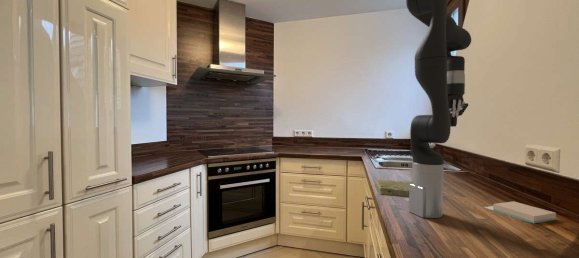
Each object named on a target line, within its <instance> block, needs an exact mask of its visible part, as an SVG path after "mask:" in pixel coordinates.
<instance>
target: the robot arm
mask: <svg viewBox="0 0 579 258" xmlns="http://www.w3.org/2000/svg"><path fill="white" fill-rule="evenodd" d="M405 3H406V8H407V10H408V11H409V13H410V14H411V16H413V17H414V18H415V19H417V20H418V21H420V22H421V23H423V24H424V25H426V26H427V27H428V29H427V30H426V33H425V35H424V37H423V38H422V40H421V42H420V43H419V46H418V47H417V49H416V50H415V51H416V52H415V54H414V75H415V76H414V77H415V78H416V80H417V82H418V84H419V85H420V87H421V88H422V90H423V91H424V93H426V95H427V97H428V99H429V101H430V105H431V112H432V114H419V115H418V114H417V115H416V116H414V117H413V118H412V120H411V123H410V129H409V131H410V134H409V135H410V154H411V156H412V167H411V168H412V171H411V174H412V175H411V176H412V178H411V182H412V184H410V190H409V197H408V198H409V200H408V204H409V205H408V208H409V209H408V211H409V213H411V214H414V215H416V216H417V217H420V218H429V219H438V218H439V219H440V218H441V217H443V200H444V199H443V198H444V197H443V195H444V162H445V160H444V159H445V158H444V156H443V155H442V153H440V152H437V151H435V150H434V149H433V148H432V147H431V146H430V144H429V143H431V144H445V143H447V142H448V141H449V138H450V136H451V127H454V128H455V127H457V125H458V117H460V116H462V115H464V113H465V111H466V110H467V108H468V106H469V103H466V102H465V101H464V95H465V93H466V91H465V90H466V89H465V88H466V73H465V71H466V70H465V69H466V67H465V63H466V61H465V60H466V59H465V57H464V56H461V55H452V52H457V51H463V50H466V49H468V48H469V46H470V45H471V44H472V36H471V34H470V32H469V31H468V30H467V29H465V28H463V27H461V26H460V25H458V24H457V22H456V21H455V19H454V18H453V17H452V16H451V15H450V14H448V0H405Z"/></svg>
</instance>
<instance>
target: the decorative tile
mask: <svg viewBox="0 0 579 258" xmlns="http://www.w3.org/2000/svg"><path fill="white" fill-rule="evenodd" d="M410 184H412V181H406V180H405V181H404V180H402V181H401V180H383V179H376V180H374V187H375V188H377V189H376V191H377V192H378V194H379V195H380V196H383V195H384V196H396V197H406V198H409V190H410Z"/></svg>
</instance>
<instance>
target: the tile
mask: <svg viewBox="0 0 579 258" xmlns="http://www.w3.org/2000/svg"><path fill="white" fill-rule="evenodd" d="M492 206H493V210H492V211H494V212H498V213H500V214H503V215H506V216H509V215H510V217H512V216H513V218H515V217H516V219H518V218H519V219H518V220H521V219H522V221H525V222H528V223H532V224H538V223H544V222H550V221H551V222H552V221H555V220H556V219H557V212H554V211H551V210H546V209H543V208H539V207H536V206H531V205H528V204H525V203H521V202H518V201H506V202H497V203H493V204H492Z"/></svg>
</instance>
